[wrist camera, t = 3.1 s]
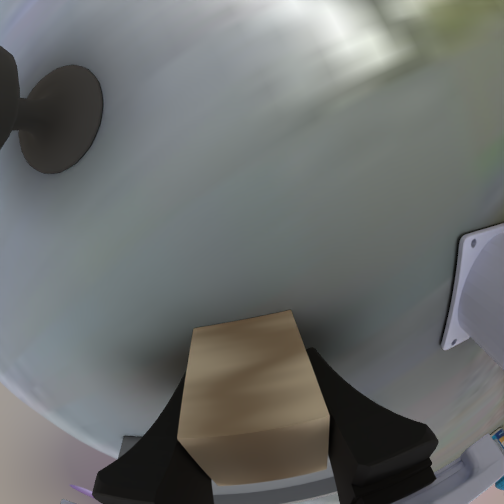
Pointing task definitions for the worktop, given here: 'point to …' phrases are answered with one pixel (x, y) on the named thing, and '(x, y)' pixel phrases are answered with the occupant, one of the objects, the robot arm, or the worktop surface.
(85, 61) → the worktop surface
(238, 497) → the tray
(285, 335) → the block
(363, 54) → the worktop surface
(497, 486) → the beverage bottle
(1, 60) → the sundae
